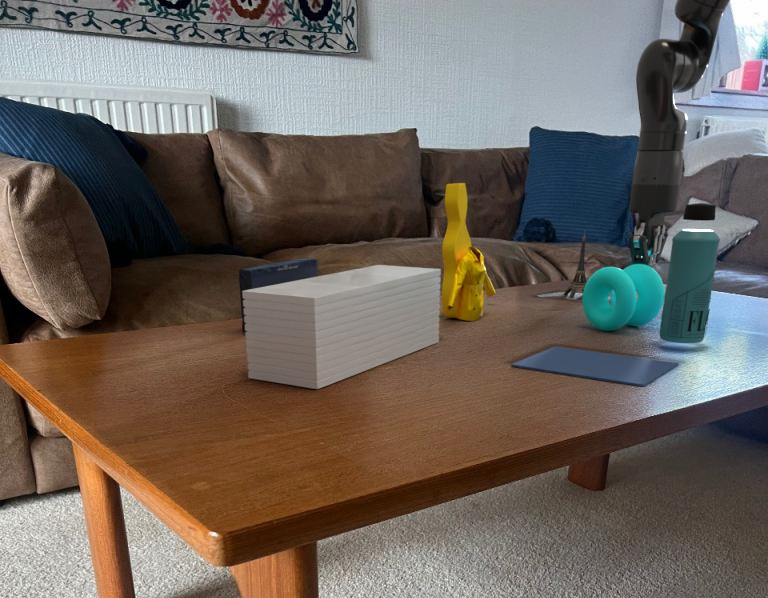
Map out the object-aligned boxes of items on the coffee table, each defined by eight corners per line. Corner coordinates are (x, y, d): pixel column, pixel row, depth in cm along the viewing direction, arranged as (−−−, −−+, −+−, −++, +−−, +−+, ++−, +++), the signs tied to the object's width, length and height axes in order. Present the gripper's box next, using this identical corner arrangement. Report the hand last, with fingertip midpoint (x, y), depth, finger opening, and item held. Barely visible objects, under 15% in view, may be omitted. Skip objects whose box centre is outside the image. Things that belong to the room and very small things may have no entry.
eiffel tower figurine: (626, 301, 155) (635, 230, 150) (602, 307, 149) (610, 233, 143) (559, 293, 165) (565, 226, 159) (534, 299, 158) (539, 229, 152)
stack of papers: (317, 389, 94) (314, 297, 89) (248, 378, 99) (242, 290, 94) (438, 342, 119) (440, 269, 114) (378, 335, 124) (378, 264, 119)
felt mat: (678, 365, 106) (678, 363, 105) (643, 387, 95) (643, 384, 95) (554, 348, 115) (555, 346, 115) (511, 366, 105) (511, 364, 105)
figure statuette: (459, 328, 130) (465, 184, 121) (418, 323, 133) (421, 183, 124) (503, 312, 143) (511, 182, 134) (464, 308, 147) (470, 181, 138)
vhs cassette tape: (253, 335, 124) (249, 270, 120) (239, 333, 125) (234, 268, 121) (321, 317, 138) (320, 258, 134) (308, 316, 140) (306, 257, 136)
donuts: (663, 329, 129) (672, 266, 125) (623, 336, 123) (631, 270, 119) (615, 320, 136) (622, 260, 132) (575, 326, 131) (581, 264, 127)
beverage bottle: (683, 355, 111) (707, 204, 103) (646, 347, 116) (666, 202, 108) (712, 350, 114) (738, 203, 106) (675, 342, 119) (696, 201, 111)
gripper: (666, 182, 120) (650, 297, 127) (691, 181, 130) (675, 288, 137) (619, 182, 124) (606, 293, 131) (647, 180, 134) (633, 284, 141)
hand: (641, 290), depth 134 cm, fingers closed
